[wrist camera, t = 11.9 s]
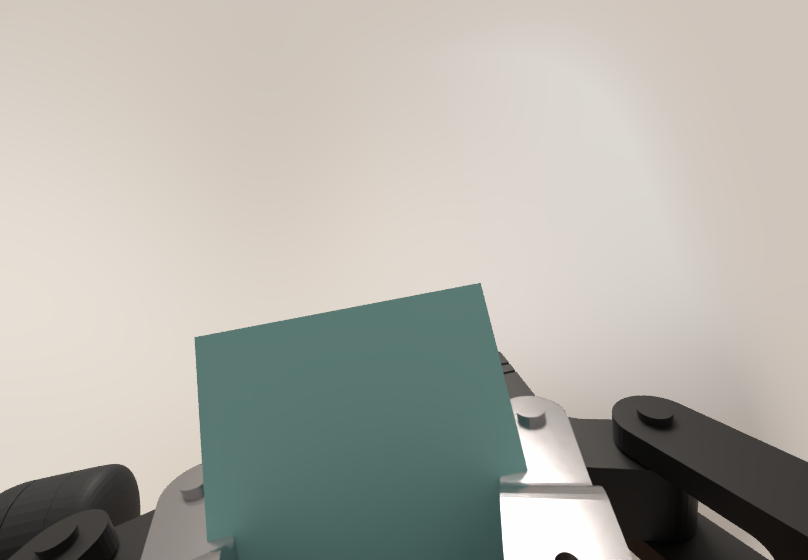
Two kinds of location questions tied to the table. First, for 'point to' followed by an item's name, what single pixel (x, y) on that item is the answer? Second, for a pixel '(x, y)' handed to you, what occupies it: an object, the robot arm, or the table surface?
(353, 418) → the block
